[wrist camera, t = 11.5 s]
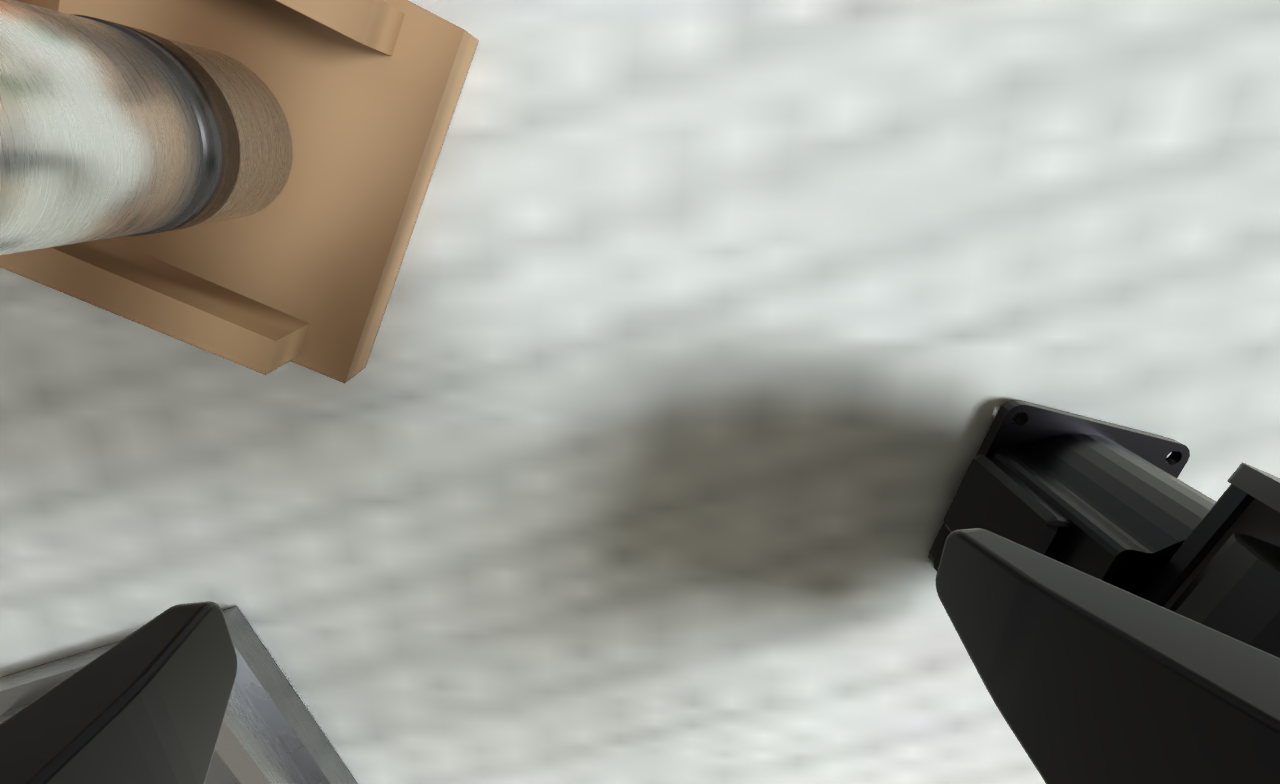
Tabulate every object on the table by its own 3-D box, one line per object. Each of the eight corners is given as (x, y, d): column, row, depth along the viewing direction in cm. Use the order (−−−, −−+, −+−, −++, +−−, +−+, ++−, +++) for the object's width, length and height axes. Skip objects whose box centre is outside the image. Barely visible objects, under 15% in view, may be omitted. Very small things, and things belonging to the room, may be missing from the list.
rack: (478, 40, 17) (444, 14, 14) (365, 367, 20) (316, 406, 17) (82, -166, 15) (-60, -249, 12) (25, 225, 18) (-99, 239, 15)
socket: (236, 606, 23) (197, 651, 21) (364, 794, 26) (341, 848, 24) (0, 677, 24) (-59, 726, 22) (152, 850, 27) (113, 906, 25)
